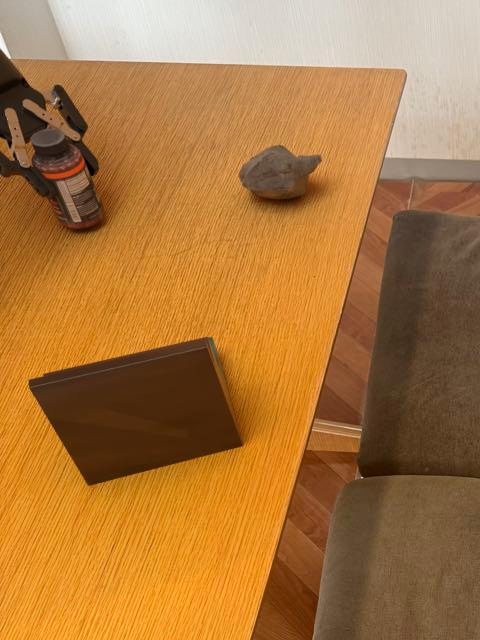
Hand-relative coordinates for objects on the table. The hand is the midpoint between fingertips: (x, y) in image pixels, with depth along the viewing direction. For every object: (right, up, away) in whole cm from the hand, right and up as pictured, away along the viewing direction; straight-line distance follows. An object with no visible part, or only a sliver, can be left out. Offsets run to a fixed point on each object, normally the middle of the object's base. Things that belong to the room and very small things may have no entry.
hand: (74, 184), depth 113 cm
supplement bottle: (-2, -3, +5) cm, 6 cm away
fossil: (+24, +2, +10) cm, 26 cm away
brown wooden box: (+17, -32, -15) cm, 39 cm away
